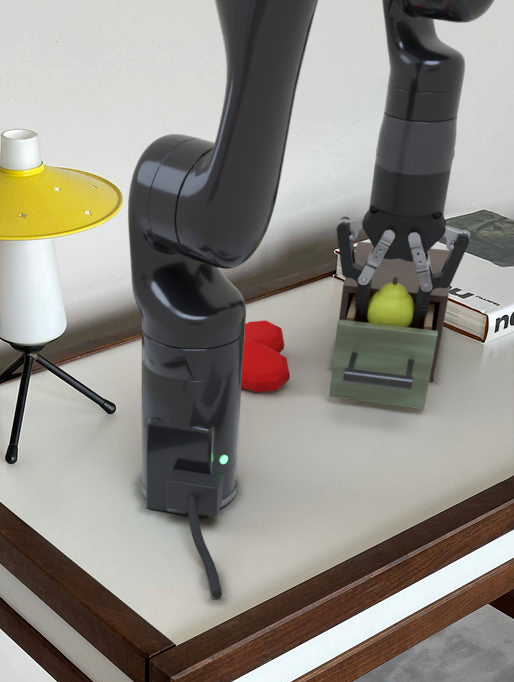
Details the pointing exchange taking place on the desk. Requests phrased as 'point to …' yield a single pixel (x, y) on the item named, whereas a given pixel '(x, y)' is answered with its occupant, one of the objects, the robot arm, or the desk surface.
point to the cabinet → (406, 278)
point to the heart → (263, 357)
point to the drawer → (383, 360)
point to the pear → (391, 306)
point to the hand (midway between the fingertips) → (390, 316)
